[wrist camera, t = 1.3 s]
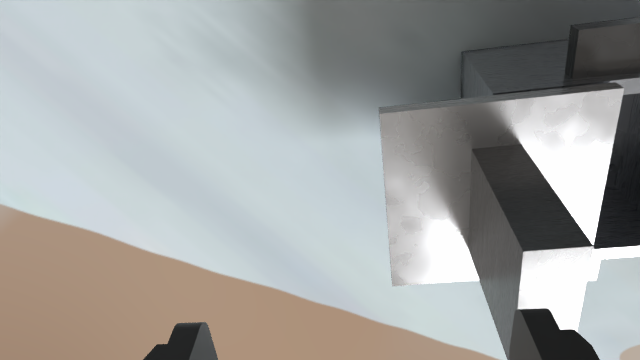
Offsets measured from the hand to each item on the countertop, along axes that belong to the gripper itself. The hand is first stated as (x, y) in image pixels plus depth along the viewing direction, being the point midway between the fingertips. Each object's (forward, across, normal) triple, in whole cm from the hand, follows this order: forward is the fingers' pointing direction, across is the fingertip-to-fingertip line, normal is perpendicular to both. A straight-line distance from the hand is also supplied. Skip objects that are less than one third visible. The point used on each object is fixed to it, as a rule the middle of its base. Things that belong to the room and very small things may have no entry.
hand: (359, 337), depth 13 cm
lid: (+19, +9, -8) cm, 23 cm away
